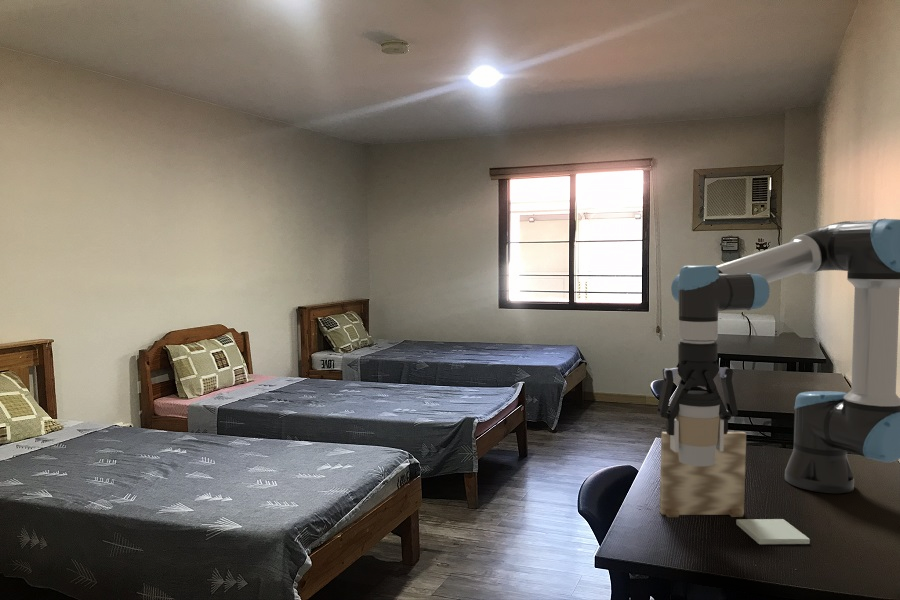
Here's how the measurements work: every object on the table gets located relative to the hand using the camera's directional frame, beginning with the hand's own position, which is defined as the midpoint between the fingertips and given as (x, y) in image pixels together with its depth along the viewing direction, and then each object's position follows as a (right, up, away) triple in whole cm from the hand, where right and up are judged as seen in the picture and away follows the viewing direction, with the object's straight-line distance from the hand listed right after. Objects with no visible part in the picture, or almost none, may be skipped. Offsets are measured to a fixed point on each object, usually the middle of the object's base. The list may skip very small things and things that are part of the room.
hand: (696, 449), depth 138 cm
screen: (+4, -16, +9) cm, 19 cm away
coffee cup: (0, -3, 0) cm, 3 cm away
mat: (+15, -17, -2) cm, 22 cm away
